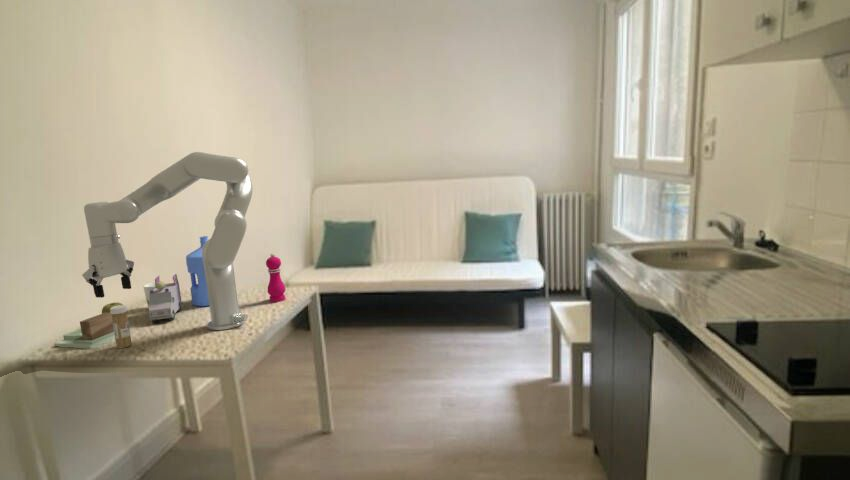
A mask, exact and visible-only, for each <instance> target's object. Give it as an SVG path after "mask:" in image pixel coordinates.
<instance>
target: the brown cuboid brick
mask: <svg viewBox="0 0 850 480" xmlns="http://www.w3.org/2000/svg"><path fill="white" fill-rule="evenodd" d="M79 325H80V329H81V332H82V337H83V340H90V341H92V340H95V339H97V338H100V337H102V336H105V335H107V334H109V333H112V332H114V328H113V320H112V315H111V313H110V312H105V313H102V312H101V313H100V314H97V315H93V316H91V317H89V318H86V319H84V320H81V321H79Z"/></svg>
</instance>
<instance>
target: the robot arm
mask: <svg viewBox="0 0 850 480" xmlns="http://www.w3.org/2000/svg"><path fill="white" fill-rule="evenodd" d="M200 179H204V180H211V181H216V182H217V181H218V182H225V184H226V192H225V195H224V198H223V201H222V203H221V206H220V208H219V211H217V215H216V217H215V219H214V230H213V232H212V235H211V237H210V238H209V239H208V241H206V242H205V244H204V245H203V248H202V259H203V264H204V270H205V276H206V283H207V291H208V299H209V306H208V307H209V313H210V320H211V321H209V322H208V323H207V325H206V327H207V329H209V330H211V331H212V330H213V331H223V330H229V329H233V328H236V327H239V326H241V325H243V324H245V322H247V321H248V318H249V314H246V313H245V314H243V312H242V310H241V309H240V307H239V300H238V299H239V298H238V292H237V284H236V276H235V269H234V268H235V267H234V261H235V259H236V256H237V254H238V252H239V250H240V247H241V244H242V242H243V240H244V237H245V234H246V231H247V226H248V225H247V221H246V218H245V217H246V214H247V212H248V209H249V206H250V203H251V200H252V196H253V183H252V179H251V177H250V174H249V167H248V165H247V163H246V161H244V160H243V159H241V158H238V157H235V156H234V157H233V156H227V155H219V154H213V153H206V152H202V151H193V152H190V153H189V154H188V155H186V156H184V157H182V158H181V159H179V160H177V161H176V162H175V163H173V164H172V165H170V166H168V167H167V168H165V169H164V170H162V171H160V172H159V173H157V174H156V175H155V176H153V177H152V178H151V179H150V180H148V181H147V182H146V183H144V184H143V185H142V186H140V187H138V188H137V189H136V190H134V191H132V192H131V193H128V195H126V196H125V197H123V198H121V199H119V200H118V201H113V202H111V201H110V202H107V201H99V202H97V201H96V202H90V203H87V204H85V205H84V206H83V211H84V216H85V223H86V227H87V233H88V236H89V237H88V238H89V243H90V247H88V251H87V252H88V253H87V259H88V269H87V270H86V271H85V272H83V273H82V278H84V280H85V281H86V283H87V284H90V286H92V287H93V293H94V295H95V298H99V299H101V298H104V297H105V291H104V286H103V284H102V282H103V280H104V279H106V278H110V277H113V276H117V275H120V276H121V277H120V279H121V287H122V289H124V290H130V289H132V283H131V278H130V277H131V276H132V272H133V271H134V267H135V266H134V265H135V261H132V260H129V259H126V255H125V251H124V249H123V247H122V244H121V243H120V242H119V239H120V238H121V236H120V234H118V233H117V232H118V231H117V227H116V224H132V223H133V222H135V221H137V220H138V219H139V217H140V216H142V215H143V214H144V213H147V211H149V210H150V209H152V208H153V207H156V205H158V204H161V203H162V202H164V201H167V200H170V199H171V198H174V197H175V196H177V195H179V193H181V192H182V191H184V190H186V189H187V188H189V187H190V186H191V185H193V184H194V183H196V182H198V181H199V180H200Z"/></svg>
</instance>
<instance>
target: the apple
mask: <svg viewBox="0 0 850 480" xmlns="http://www.w3.org/2000/svg"><path fill="white" fill-rule="evenodd" d="M119 305H124V304H123V303H121V302H110V303H107V304H105V305H104V306H103V307H102V309H101V314H102V313H105V312H110V308H111V307H114V306H119Z"/></svg>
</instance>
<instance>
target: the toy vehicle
mask: <svg viewBox="0 0 850 480" xmlns="http://www.w3.org/2000/svg"><path fill="white" fill-rule="evenodd" d="M172 280H173V282H171V283H165V282H164V281H161V280H160V275H157V276H156V278H154V283H155V287H156V288H155V289H154V290H151V291H150V293H149V297H150V303H149V300H147V301H146V303H147V302H148V304H147V306H148V305H149V304H150V308H149V309H148V316H149V321H151V322H152V323H154V324H155V323H157V322H158V320H163V319H164V320H165V319H168V320H169V321H174V320H175V319H176V318H175V317H176V313H179V312H181V309H182V306H183V301H182V296H181V289H180V282H179V280H178V275H177V273H175V274H174V275H173V276H172ZM163 282H164V283H165V284H164V283H163Z"/></svg>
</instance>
